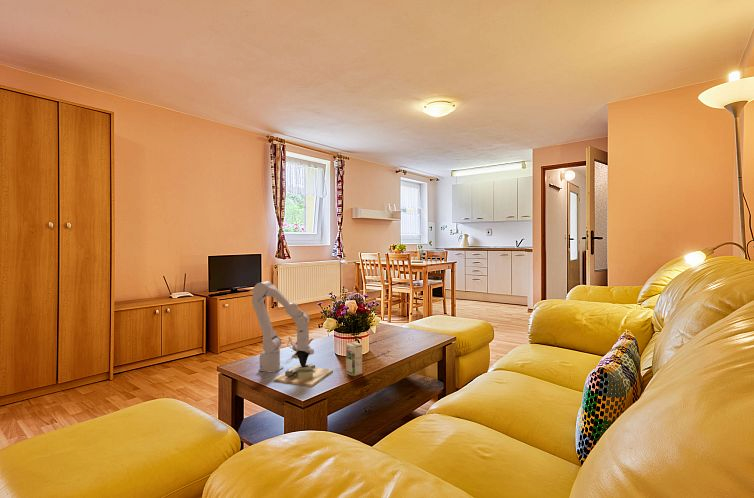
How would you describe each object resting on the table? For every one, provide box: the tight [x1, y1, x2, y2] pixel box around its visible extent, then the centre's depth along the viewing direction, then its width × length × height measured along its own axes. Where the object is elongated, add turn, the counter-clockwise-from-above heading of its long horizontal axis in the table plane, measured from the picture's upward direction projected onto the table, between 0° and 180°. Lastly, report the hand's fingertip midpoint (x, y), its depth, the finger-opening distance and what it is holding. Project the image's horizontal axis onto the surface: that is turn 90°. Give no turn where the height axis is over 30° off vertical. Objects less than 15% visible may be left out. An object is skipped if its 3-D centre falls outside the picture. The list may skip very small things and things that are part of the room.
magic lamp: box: [286, 336, 314, 356], centre depth 212 cm, size 7×18×11 cm, turn 137°
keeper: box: [297, 367, 313, 379], centre depth 172 cm, size 6×4×4 cm, turn 110°
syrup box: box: [345, 341, 363, 377], centre depth 179 cm, size 6×6×14 cm
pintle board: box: [272, 364, 334, 387], centre depth 176 cm, size 20×20×2 cm
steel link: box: [284, 363, 316, 377], centre depth 176 cm, size 16×4×2 cm, turn 140°
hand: (303, 365), depth 185 cm, fingers closed
